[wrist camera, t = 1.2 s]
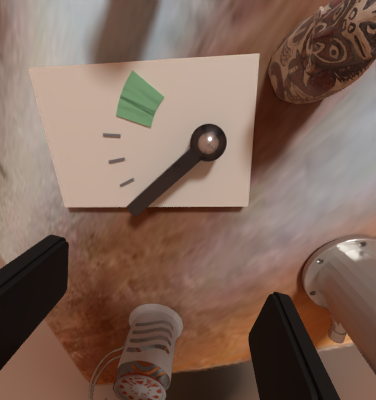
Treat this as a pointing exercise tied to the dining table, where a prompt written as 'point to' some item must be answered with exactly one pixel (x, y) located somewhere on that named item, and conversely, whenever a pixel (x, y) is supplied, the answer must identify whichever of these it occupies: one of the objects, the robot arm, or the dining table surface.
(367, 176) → the dining table surface
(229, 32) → the dining table surface
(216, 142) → the needle
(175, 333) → the french press
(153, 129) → the gauge board
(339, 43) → the figurine
